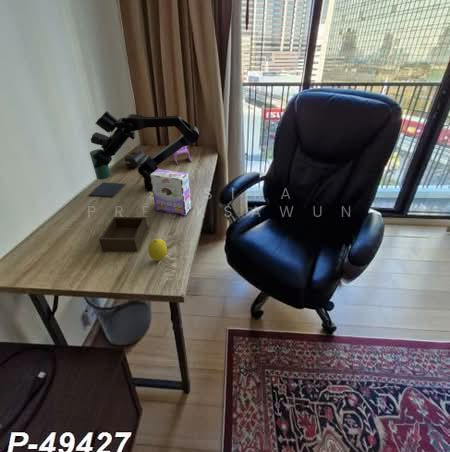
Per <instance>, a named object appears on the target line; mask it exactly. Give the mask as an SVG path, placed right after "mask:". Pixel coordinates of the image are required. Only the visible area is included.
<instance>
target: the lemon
mask: <svg viewBox="0 0 450 452" xmlns="http://www.w3.org/2000/svg"><path fill="white" fill-rule="evenodd" d="M147 249H148V250H147V251H148V255H149V257H150V259H151V260H153V261H155V262H158V261H162V260H164V259H165V257H166V256H167V253H168V247H167V244H166V242H165V240H163V239H161V238H154V239H152V240H151V241H150V243H149V245H148V248H147Z"/></svg>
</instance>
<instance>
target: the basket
mask: <svg viewBox="0 0 450 452" xmlns="http://www.w3.org/2000/svg"><path fill="white" fill-rule="evenodd" d="M148 229H149V227H148V223H147V217H146V216H113V218H112V219H111V221H110V222H109V223H108V225H107V226H106V228H105V230H104V231H103V232H102V234H101V236H100V237H99V238H98V242H99V245H100V248H101V251H102V252H138V251H139V249H140V246H141V245H142V242H143V240H144V238H145V235H146V233H147V231H148Z"/></svg>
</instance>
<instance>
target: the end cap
mask: <svg viewBox="0 0 450 452" xmlns="http://www.w3.org/2000/svg"><path fill="white" fill-rule="evenodd" d="M146 156H147V155H146V154H145V153H144V152H143V151H142V150H141V151H140V150H139V151H138V152H137V151H136V152H133V151H132V152H131V153H130V155H127V156H125V157H124V162H126V163H125V167H126V169H127V170H135V169H137V167H139V165H140V162H141V160H142V158H145V157H146Z"/></svg>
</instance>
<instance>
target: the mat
mask: <svg viewBox="0 0 450 452" xmlns="http://www.w3.org/2000/svg"><path fill="white" fill-rule="evenodd" d="M124 186H125V183H119V182H117V183H116V182H101V184H100V185H98V186H97V187H96V188H95V189H94V190H93V191H92V192H90V193H89V196H90V197H102V198H103V197H104V198H114V196H115V195H116V194H117V193H119V192H120V190H121V189H122V188H123V187H124Z"/></svg>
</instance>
